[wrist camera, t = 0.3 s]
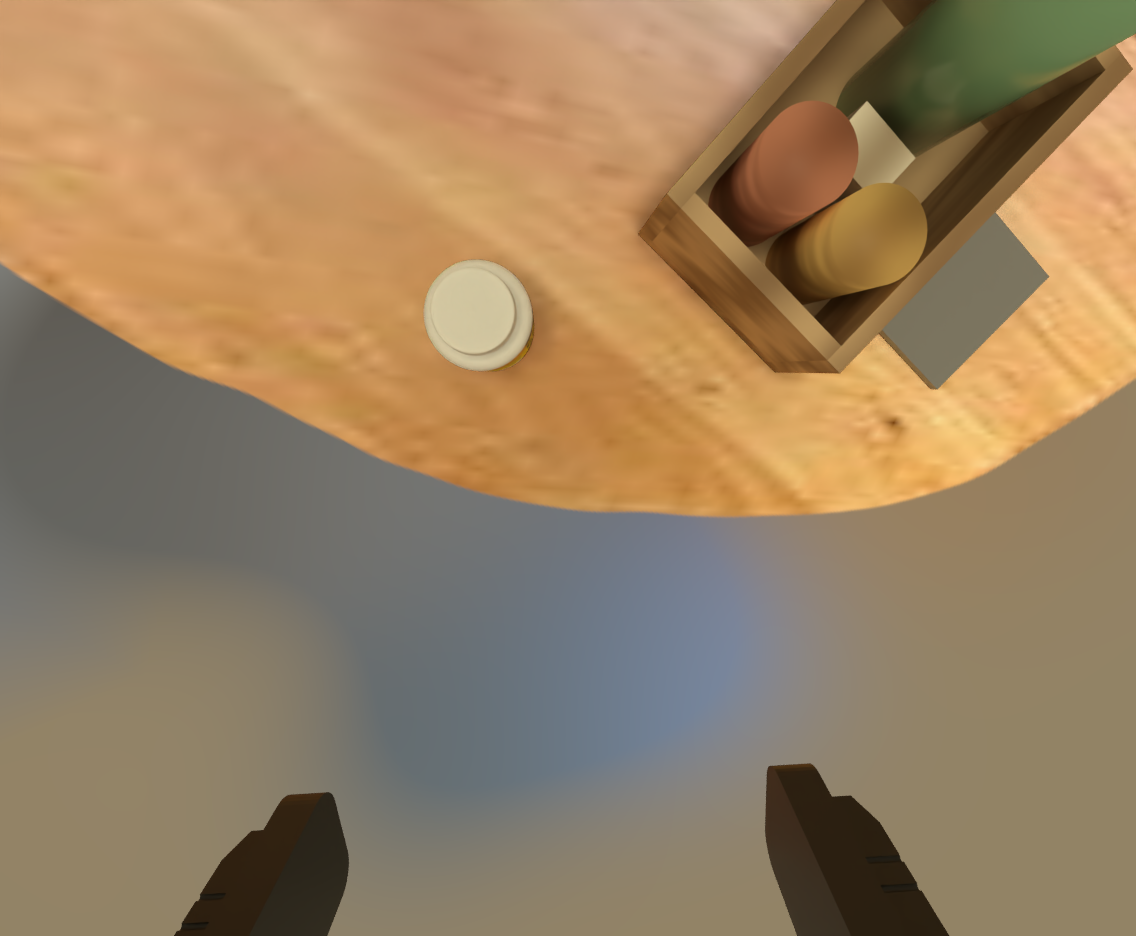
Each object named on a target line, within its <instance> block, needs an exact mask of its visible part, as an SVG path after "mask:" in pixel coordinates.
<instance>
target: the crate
mask: <svg viewBox="0 0 1136 936" xmlns="http://www.w3.org/2000/svg"><path fill="white" fill-rule="evenodd" d="M931 1H933V0H836V2H835V3H834V4H833V5H832V6H831V7H830V8H829V10H828V11H827V12H826V13H825V14H824V15H823V16H822V17H821V19H820V20H819V21H818V22H817V23H816V24H815V25H814V27H813V28H812V29H811V30H810V31H809V32H808V33H807V35H806V36H805V37H804V38H803V39H802V40H801V41H800V43H799V44H798V45H797V46H796V47H795V48H794V49H793V51H792V52H791V53H790V54H789V55H788V56H787V57H786V58H785V60H784V61H783V62H782V63H781V64H780V65H779V66H778V68H777V69H776V70H775V71H774V72H773V73H772V74H771V76H770V77H769V78H768V79H767V80H766V81H765V82H764V84H763V85H762V86H761V87H760V88H759V89H758V90H757V92H756V93H755V94H754V95H753V96H752V97H751V98H750V99H749V101H748V102H747V103H746V104H745V105H744V106H743V107H742V109H741V110H740V111H739V112H738V113H737V114H736V115H735V117H734V118H733V119H732V120H731V121H730V122H729V123H728V125H727V126H726V127H725V128H724V129H723V130H722V131H721V132H720V134H719V135H718V136H717V137H716V138H715V139H714V140H713V142H712V143H711V144H710V145H709V146H708V147H707V148H706V150H705V151H704V152H703V153H702V154H701V155H700V156H699V158H698V159H697V160H696V161H695V162H694V163H693V164H692V166H691V167H690V168H689V169H688V170H687V171H686V172H685V173H684V175H683V176H682V177H681V178H680V179H679V180H678V181H677V183H676V184H675V185H674V186H673V187H672V188H671V189H670V191H669V192H668V193H667V194H666V195H665V197H664V198H663V200H662V201H661V202H660V204H659V205H658V207H657V208H656V209H655V211H654V212H653V214H652V215H651V216H650V218H649V219H648V221H647V222H646V223H645V225H644V226H643V228H642V229H641V230H640V232H639V233H638V234H639V236H640V237H641V238H642V239H643V240H644V241H645V242H646V243H647V244H648V245H649V246H650V247H651V248H652V249H653V250H654V251H655V252H656V253H657V254H658V255H659V256H660V257H661V258H662V259H663V260H664V261H665V262H666V263H667V264H668V265H669V266H670V267H671V268H672V269H673V270H674V271H675V272H676V273H677V274H678V275H679V276H680V277H681V278H682V279H683V280H684V281H685V282H686V283H687V284H688V285H689V286H690V287H691V288H692V289H693V290H694V291H695V292H696V293H697V294H698V295H699V296H700V297H701V298H702V299H703V300H704V301H705V302H706V303H707V304H708V305H709V306H710V307H711V308H712V309H713V310H714V311H715V312H716V313H717V314H718V315H719V316H720V317H721V318H722V319H723V320H724V321H725V322H726V323H727V324H728V325H729V326H730V327H731V328H732V329H733V330H734V331H735V332H736V333H737V334H738V335H739V336H740V337H741V338H742V339H743V340H744V341H745V342H746V343H747V344H748V345H749V346H750V347H751V348H752V349H753V350H754V351H755V352H756V353H757V354H758V355H759V357H760V358H761V359H762V360H763V361H764V362H765V363H766V364H767V365H768V366H769V367H770V368H771V369H772V370H773V371H774V372H786V373H841V372H842V371H843V370H844V369H845V368H846V366H847V365H848V364H849V363H850V362H851V361H852V360H853V359H854V358H855V357H856V356H857V355H858V354H859V353H860V352H861V351H862V350H863V349H864V348H865V347H866V346H867V345H868V344H869V343H870V342H871V341H872V339H873V338H874V337H875V336H876V335H877V334H878V333H879V332H880V331H881V330H882V329H883V328H884V327H885V326H886V325H887V324H888V323H889V322H890V321H891V320H892V319H893V318H894V317H895V316H896V315H897V314H898V312H899V311H900V310H901V309H902V308H903V307H904V306H905V305H906V304H907V303H908V302H909V301H910V300H911V299H912V298H913V297H914V296H915V295H916V294H917V293H918V292H919V291H920V290H921V289H922V288H923V287H924V285H925V284H926V283H927V282H928V281H929V280H930V279H931V278H932V277H933V276H934V275H935V274H936V273H937V272H938V271H939V270H940V269H941V268H942V267H943V266H944V265H945V264H946V263H947V262H948V261H949V260H950V258H951V257H952V256H953V255H954V254H955V253H956V252H957V251H958V250H959V249H960V248H961V247H962V246H963V245H964V244H965V243H966V242H967V241H968V240H969V239H970V238H971V237H972V236H973V235H974V234H975V233H976V232H977V230H978V229H979V228H980V227H981V226H982V225H983V224H984V223H985V222H986V221H987V220H988V219H989V218H990V217H991V216H992V215H993V214H994V213H995V212H996V211H997V210H998V209H999V208H1000V207H1001V206H1002V205H1003V203H1004V202H1005V201H1006V200H1007V199H1008V198H1009V197H1010V196H1011V195H1012V194H1013V193H1014V192H1015V191H1016V190H1017V189H1018V188H1019V187H1020V186H1021V185H1022V184H1023V183H1024V182H1025V181H1026V180H1027V179H1028V178H1029V176H1030V175H1031V174H1032V173H1033V172H1034V171H1035V170H1036V169H1037V168H1038V167H1039V166H1040V165H1041V164H1042V163H1043V162H1044V161H1045V160H1046V159H1047V158H1048V157H1049V156H1050V155H1051V154H1052V153H1053V152H1054V151H1055V149H1056V148H1057V147H1058V146H1059V145H1060V144H1061V143H1062V142H1063V141H1064V140H1065V139H1066V138H1067V137H1068V136H1069V135H1070V134H1071V133H1072V132H1073V131H1074V130H1075V129H1076V128H1077V127H1078V126H1079V125H1080V124H1081V122H1082V121H1083V120H1084V119H1085V118H1086V117H1087V116H1088V115H1089V114H1090V113H1091V112H1092V111H1093V110H1094V109H1095V108H1096V107H1097V106H1098V105H1099V104H1100V103H1101V102H1102V101H1103V100H1104V99H1105V98H1106V97H1107V95H1108V94H1109V93H1110V92H1111V91H1112V90H1113V89H1114V88H1115V87H1116V86H1117V85H1118V84H1119V83H1120V82H1121V81H1122V80H1123V79H1124V78H1125V77H1126V76H1127V75H1128V74H1129V73H1130V72H1131V71H1132V70H1133V68H1132V67H1131V66H1130V64H1129V63H1128V62H1127V60H1126V59H1125V58H1124V56H1123V55H1122V54H1121V52H1120V51H1119V49H1118V48H1117V47H1116V45H1114V46H1113V47H1111V48H1109V49H1107V50H1106V51H1104V52H1102V53H1100V54H1099V55H1097V56H1095V57H1093V58H1091V59H1090V60H1088V61H1086V62H1084V63H1083V64H1081V65H1079V66H1077V67H1075V68H1074V69H1072V70H1070V71H1068V72H1067V73H1065V74H1063V75H1061V76H1060V77H1058V78H1056V79H1054V80H1052V81H1051V82H1049V83H1047V84H1045V85H1044V86H1042V87H1040V88H1038V89H1036V90H1035V91H1033V92H1031V93H1029V94H1028V95H1026V96H1024V97H1022V98H1021V99H1019V100H1017V101H1015V102H1013V103H1012V104H1010V105H1008V106H1006V107H1005V108H1003V109H1001V110H999V111H997V112H996V113H994V114H992V115H990V116H989V117H987V118H985V119H983V120H982V121H980V122H978V123H976V124H974V125H973V126H971V127H969V128H967V129H966V130H964V131H962V132H960V133H958V134H957V135H955V136H953V137H951V138H950V139H948V140H946V141H944V142H943V143H941V144H939V145H937V146H935V147H934V148H932V149H930V150H928V151H927V152H925V153H923V154H921V155H919V156H918V157H916V158H915V157H914V156H913V154H912V153H911V152H910V151H909V150H908V148H907V147H906V146H905V145H904V144H903V143H902V141H901V140H900V139H899V138H898V137H897V136H896V134H895V133H894V132H893V131H892V130H891V128H890V127H889V126H888V125H887V124H886V123H885V121H884V120H883V119H882V118H881V117H880V116H879V114H878V113H877V112H876V111H875V110H874V109H873V107H872V106H871V105H870V104H869V103H868V101H866V102H865V103H864V104H863V105H861V106H860V107H859V108H858V109H857V110H855V111H854V112H853V113H852V114H850V115H849V116H848V117H846V116H845V115H844V114H843V113H842V112H841V111H840V110H839V109H837V108H836V105H837V101H838V99H839V96H840V94H841V92H842V90H843V88H844V86H845V85H846V83H847V82H848V81H849V79H850V78H851V77H852V76H853V75H854V74H855V73H856V72H857V71H858V70H859V69H860V68H861V67H862V66H863V65H865V64H866V63H867V62H868V61H869V60H870V59H871V58H872V57H873V56H874V55H875V54H876V53H877V52H878V51H879V50H880V49H882V48H883V47H884V46H885V45H886V44H887V43H888V42H889V41H890V40H891V39H892V38H893V37H894V36H895V35H896V34H897V33H899V32H900V31H901V30H902V29H903V28H904V27H905V26H906V25H907V24H908V23H909V22H910V21H911V20H912V19H913V18H914V17H916V16H917V15H918V14H919V13H920V12H921V11H922V10H923V9H924V8H925V7H926V6H927V5H928V4H929V3H930V2H931Z"/></svg>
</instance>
